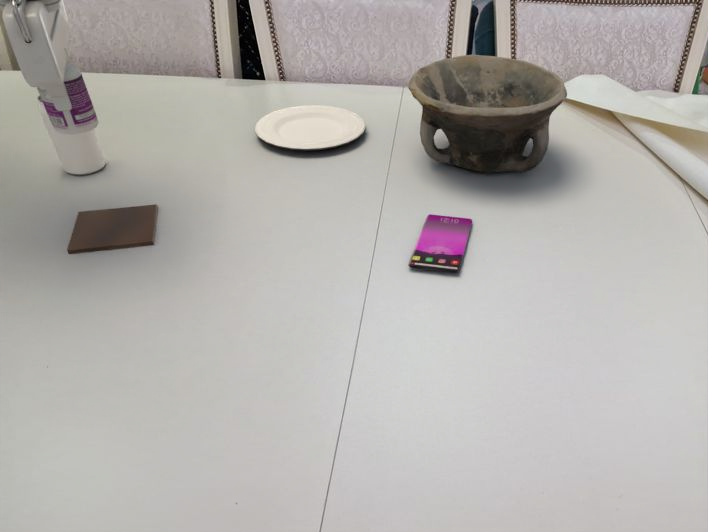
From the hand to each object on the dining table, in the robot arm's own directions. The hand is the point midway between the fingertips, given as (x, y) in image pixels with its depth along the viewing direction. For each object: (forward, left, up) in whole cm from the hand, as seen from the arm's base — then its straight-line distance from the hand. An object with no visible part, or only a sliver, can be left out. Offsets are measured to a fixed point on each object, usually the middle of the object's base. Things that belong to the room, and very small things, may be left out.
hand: (66, 99), depth 78 cm
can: (-7, +22, -19) cm, 30 cm away
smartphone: (+46, -15, -19) cm, 52 cm away
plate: (+32, +29, -19) cm, 47 cm away
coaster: (0, 0, -19) cm, 19 cm away
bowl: (+61, +11, -19) cm, 65 cm away
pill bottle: (0, 0, -4) cm, 4 cm away
